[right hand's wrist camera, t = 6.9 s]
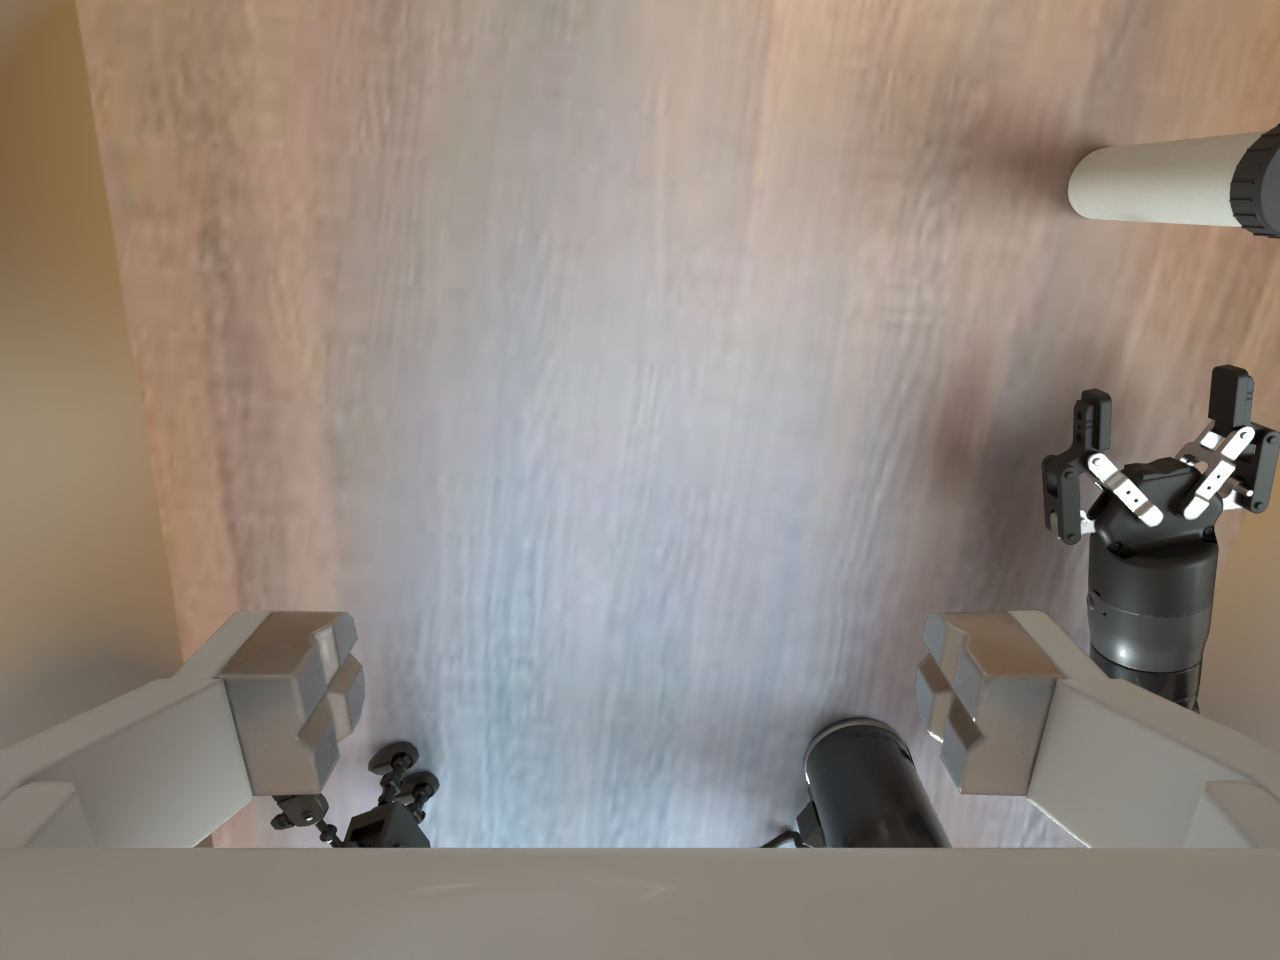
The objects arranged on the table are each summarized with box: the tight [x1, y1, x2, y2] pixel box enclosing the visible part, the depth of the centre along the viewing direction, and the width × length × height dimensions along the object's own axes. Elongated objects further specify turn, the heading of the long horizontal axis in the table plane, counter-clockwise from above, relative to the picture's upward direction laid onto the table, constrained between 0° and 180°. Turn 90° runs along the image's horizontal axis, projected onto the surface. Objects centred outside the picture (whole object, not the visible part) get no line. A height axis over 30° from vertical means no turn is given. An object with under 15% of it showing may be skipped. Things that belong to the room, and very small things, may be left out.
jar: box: [1068, 131, 1268, 227], centre depth 41 cm, size 4×4×16 cm
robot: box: [270, 742, 440, 848], centre depth 57 cm, size 25×7×23 cm, turn 24°
